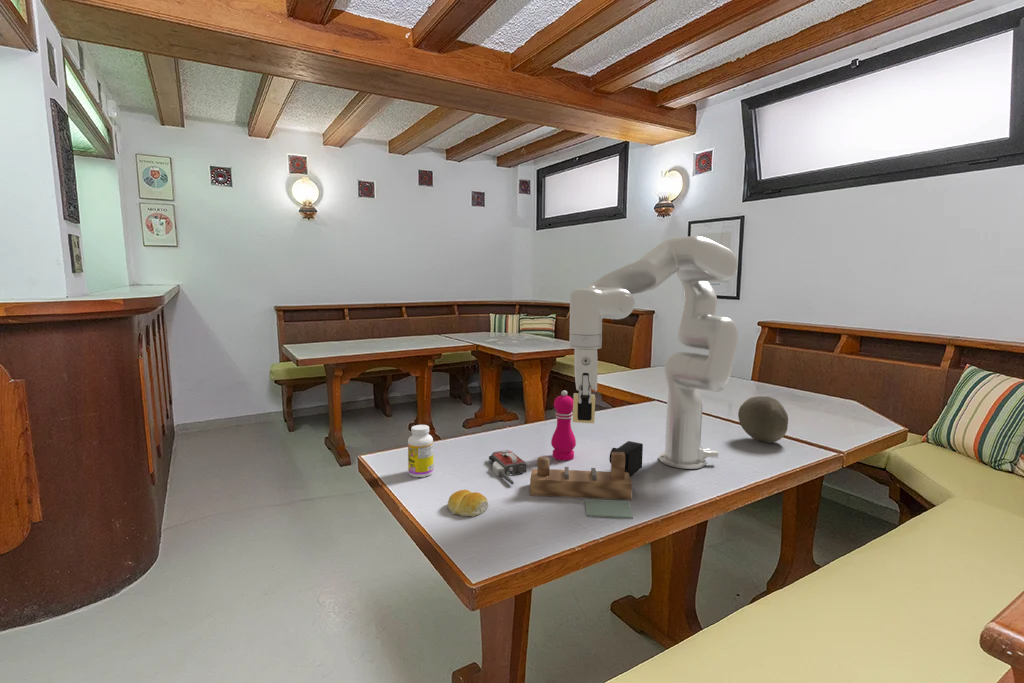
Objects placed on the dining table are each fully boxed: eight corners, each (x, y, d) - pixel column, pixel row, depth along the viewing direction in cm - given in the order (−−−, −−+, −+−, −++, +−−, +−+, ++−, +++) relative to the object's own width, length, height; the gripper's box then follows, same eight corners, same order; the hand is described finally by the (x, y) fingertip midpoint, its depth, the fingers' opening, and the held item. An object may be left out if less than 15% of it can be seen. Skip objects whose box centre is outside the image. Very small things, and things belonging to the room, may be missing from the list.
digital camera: (623, 463, 140) (624, 439, 139) (642, 467, 137) (642, 443, 136) (608, 474, 131) (609, 449, 130) (627, 479, 128) (628, 453, 127)
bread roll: (462, 498, 117) (462, 482, 117) (493, 507, 112) (493, 490, 112) (439, 511, 110) (439, 494, 110) (471, 521, 105) (471, 504, 105)
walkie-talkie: (482, 462, 141) (508, 489, 123) (481, 447, 140) (508, 472, 122) (510, 458, 144) (540, 483, 126) (510, 443, 144) (540, 467, 125)
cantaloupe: (761, 433, 168) (764, 390, 166) (797, 446, 154) (800, 400, 153) (728, 437, 163) (730, 393, 161) (761, 451, 150) (764, 403, 148)
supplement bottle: (406, 471, 133) (405, 425, 132) (430, 467, 136) (429, 422, 134) (411, 480, 127) (410, 431, 126) (436, 476, 130) (435, 429, 128)
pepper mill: (574, 462, 140) (575, 393, 138) (549, 460, 142) (550, 392, 139) (576, 453, 147) (577, 388, 145) (552, 452, 149) (553, 387, 146)
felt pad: (628, 502, 114) (628, 500, 114) (633, 518, 106) (633, 517, 106) (584, 500, 115) (584, 498, 115) (586, 516, 107) (586, 514, 107)
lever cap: (593, 418, 119) (594, 391, 119) (594, 423, 115) (595, 395, 114) (572, 417, 120) (573, 390, 119) (572, 422, 116) (573, 394, 115)
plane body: (627, 487, 123) (628, 449, 121) (631, 500, 116) (633, 459, 114) (531, 483, 125) (532, 445, 124) (530, 495, 118) (530, 455, 117)
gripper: (604, 346, 106) (602, 427, 109) (599, 337, 123) (598, 408, 125) (569, 345, 107) (568, 426, 109) (569, 337, 124) (568, 407, 126)
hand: (584, 416), depth 117 cm, fingers closed on lever cap, 4 cm apart
